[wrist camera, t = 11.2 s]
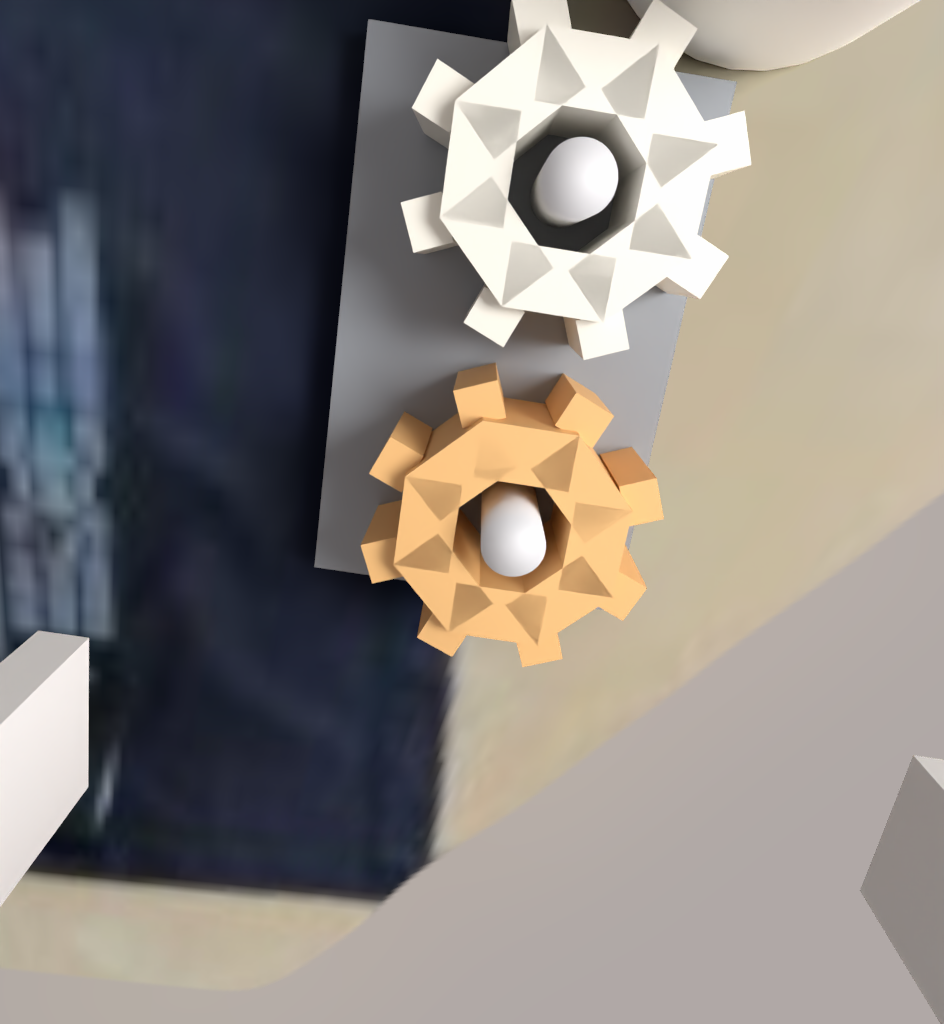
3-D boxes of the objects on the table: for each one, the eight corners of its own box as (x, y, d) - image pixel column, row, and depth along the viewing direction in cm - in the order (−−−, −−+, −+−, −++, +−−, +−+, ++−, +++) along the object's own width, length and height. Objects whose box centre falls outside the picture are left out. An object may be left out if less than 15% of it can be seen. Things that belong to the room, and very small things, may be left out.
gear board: (322, 553, 32) (274, 637, 25) (374, 32, 26) (332, -54, 19) (608, 596, 32) (643, 690, 25) (723, 91, 27) (810, 28, 19)
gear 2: (367, 589, 31) (346, 650, 26) (397, 346, 28) (379, 364, 23) (605, 625, 31) (627, 690, 26) (659, 388, 28) (695, 414, 23)
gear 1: (401, 318, 27) (383, 330, 23) (439, 10, 25) (427, -51, 20) (667, 360, 28) (704, 381, 23) (735, 61, 25) (794, 13, 20)
